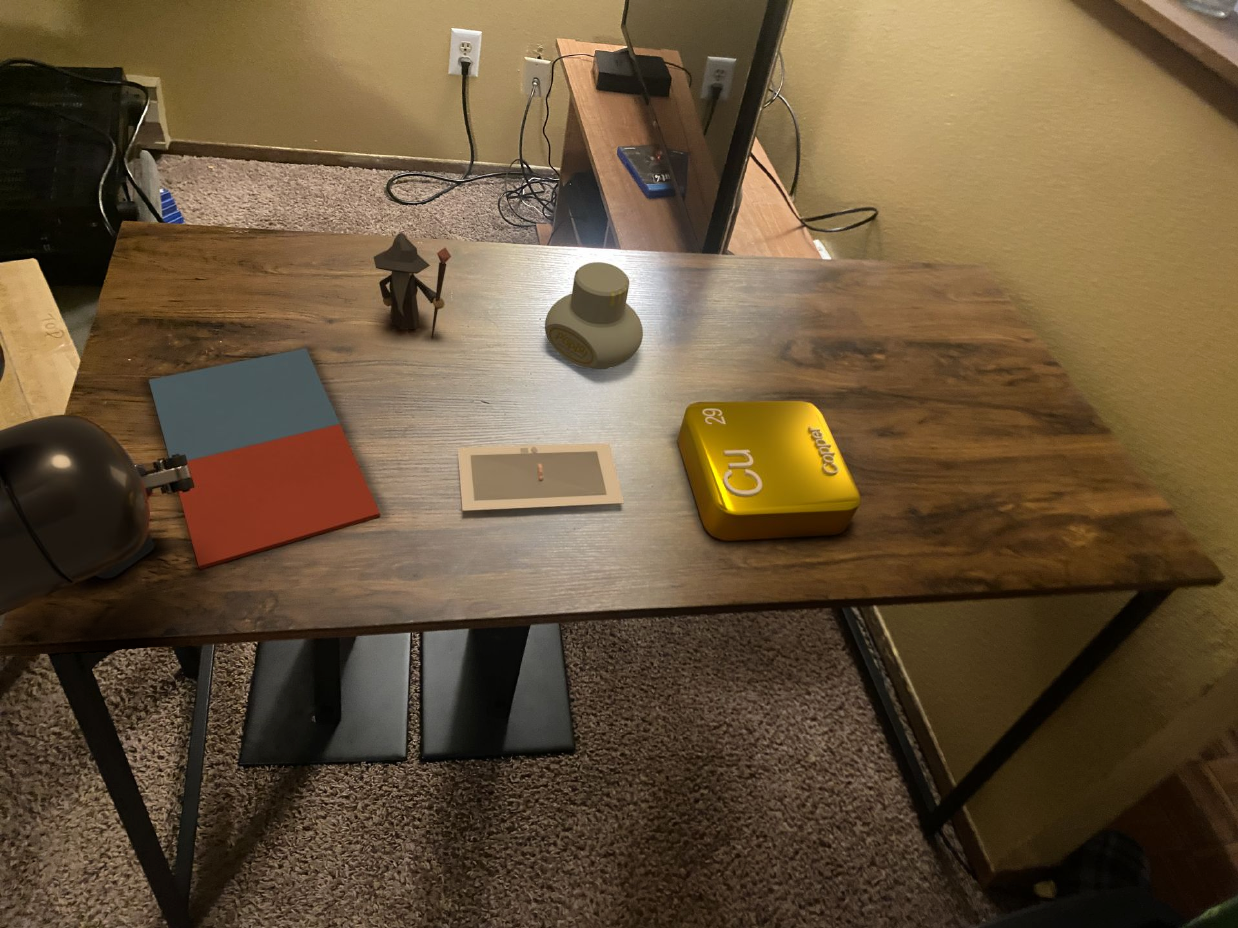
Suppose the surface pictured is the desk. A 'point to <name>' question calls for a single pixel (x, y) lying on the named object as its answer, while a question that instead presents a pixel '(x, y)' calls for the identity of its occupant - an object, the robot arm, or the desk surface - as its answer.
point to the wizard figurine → (408, 283)
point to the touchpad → (537, 476)
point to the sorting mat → (259, 455)
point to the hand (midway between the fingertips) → (97, 492)
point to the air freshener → (595, 319)
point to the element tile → (766, 470)
